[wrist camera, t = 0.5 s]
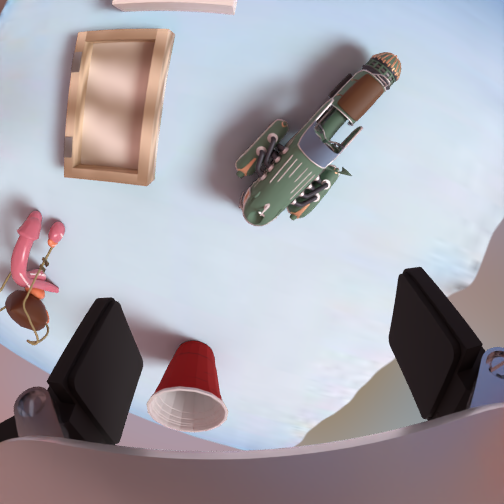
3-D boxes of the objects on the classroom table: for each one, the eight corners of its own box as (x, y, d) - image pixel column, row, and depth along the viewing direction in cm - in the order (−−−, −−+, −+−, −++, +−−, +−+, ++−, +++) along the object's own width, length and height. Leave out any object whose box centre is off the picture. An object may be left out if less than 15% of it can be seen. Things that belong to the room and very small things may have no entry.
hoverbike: (214, 184, 37) (205, 207, 29) (355, 29, 28) (382, 13, 21) (277, 233, 39) (283, 265, 32) (411, 87, 31) (448, 88, 24)
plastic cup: (220, 383, 51) (215, 441, 41) (158, 365, 50) (142, 423, 39) (241, 339, 47) (239, 403, 36) (170, 318, 45) (152, 380, 34)
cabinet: (89, 36, 28) (77, 31, 25) (175, 34, 29) (168, 28, 26) (75, 171, 35) (62, 177, 32) (154, 179, 36) (146, 186, 33)
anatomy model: (76, 217, 34) (19, 346, 27) (92, 255, 48) (53, 349, 41) (10, 185, 32) (-46, 302, 25) (38, 229, 46) (-2, 318, 39)
